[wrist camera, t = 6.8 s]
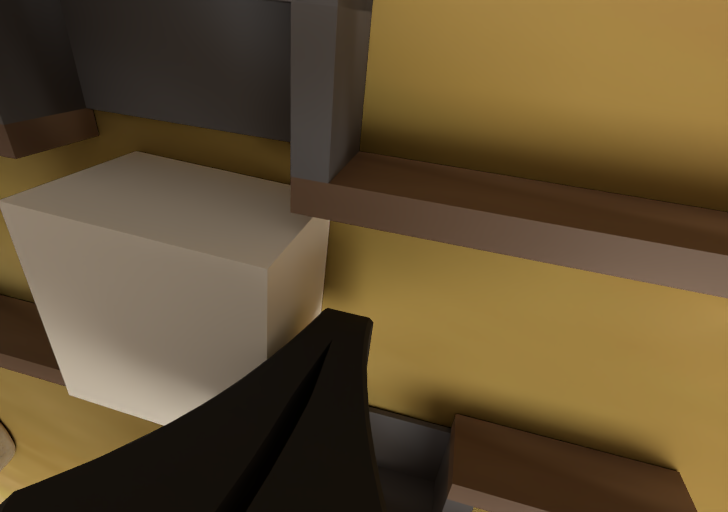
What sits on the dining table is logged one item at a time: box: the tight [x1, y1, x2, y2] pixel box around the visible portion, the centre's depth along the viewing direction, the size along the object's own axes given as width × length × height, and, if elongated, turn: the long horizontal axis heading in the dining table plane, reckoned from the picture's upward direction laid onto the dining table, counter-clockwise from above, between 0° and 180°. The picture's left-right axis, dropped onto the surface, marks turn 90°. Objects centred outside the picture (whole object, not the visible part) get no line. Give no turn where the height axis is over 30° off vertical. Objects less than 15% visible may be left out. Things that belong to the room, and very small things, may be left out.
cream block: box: [0, 151, 330, 426], centre depth 11 cm, size 6×6×4 cm
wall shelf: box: [0, 0, 728, 512], centre depth 12 cm, size 17×27×3 cm, turn 85°
